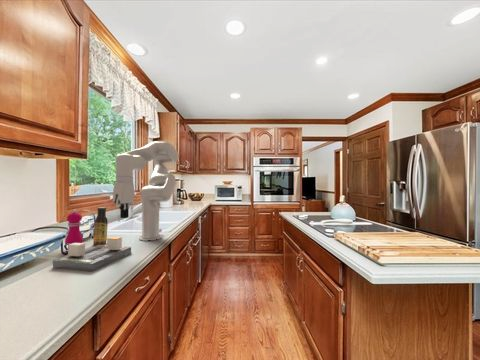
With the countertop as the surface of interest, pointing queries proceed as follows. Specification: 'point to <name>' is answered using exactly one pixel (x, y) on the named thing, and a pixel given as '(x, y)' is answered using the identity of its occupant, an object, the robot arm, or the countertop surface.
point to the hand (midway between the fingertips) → (124, 217)
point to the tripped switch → (114, 243)
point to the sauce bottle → (100, 227)
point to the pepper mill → (74, 228)
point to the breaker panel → (91, 258)
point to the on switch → (76, 249)
